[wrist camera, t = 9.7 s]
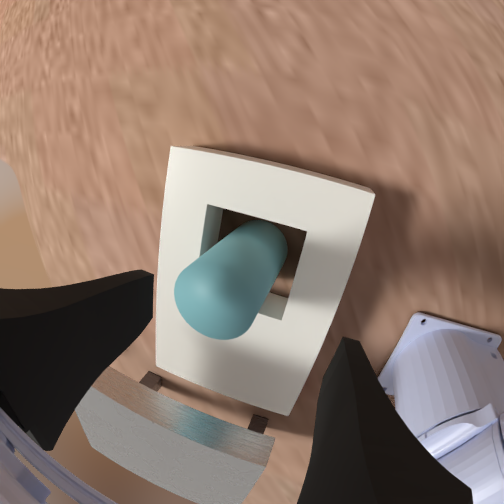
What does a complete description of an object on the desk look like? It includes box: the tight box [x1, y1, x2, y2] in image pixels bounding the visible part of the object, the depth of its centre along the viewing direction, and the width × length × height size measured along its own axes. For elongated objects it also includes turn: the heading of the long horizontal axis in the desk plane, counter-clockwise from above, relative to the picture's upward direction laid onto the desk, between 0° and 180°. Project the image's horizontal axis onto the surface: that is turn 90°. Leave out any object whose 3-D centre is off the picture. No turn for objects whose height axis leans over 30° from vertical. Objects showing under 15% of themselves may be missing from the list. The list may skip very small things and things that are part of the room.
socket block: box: [156, 146, 375, 416], centre depth 20 cm, size 12×18×3 cm, turn 168°
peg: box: [174, 220, 288, 340], centre depth 17 cm, size 4×4×8 cm
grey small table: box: [75, 366, 275, 504], centre depth 21 cm, size 14×12×11 cm
